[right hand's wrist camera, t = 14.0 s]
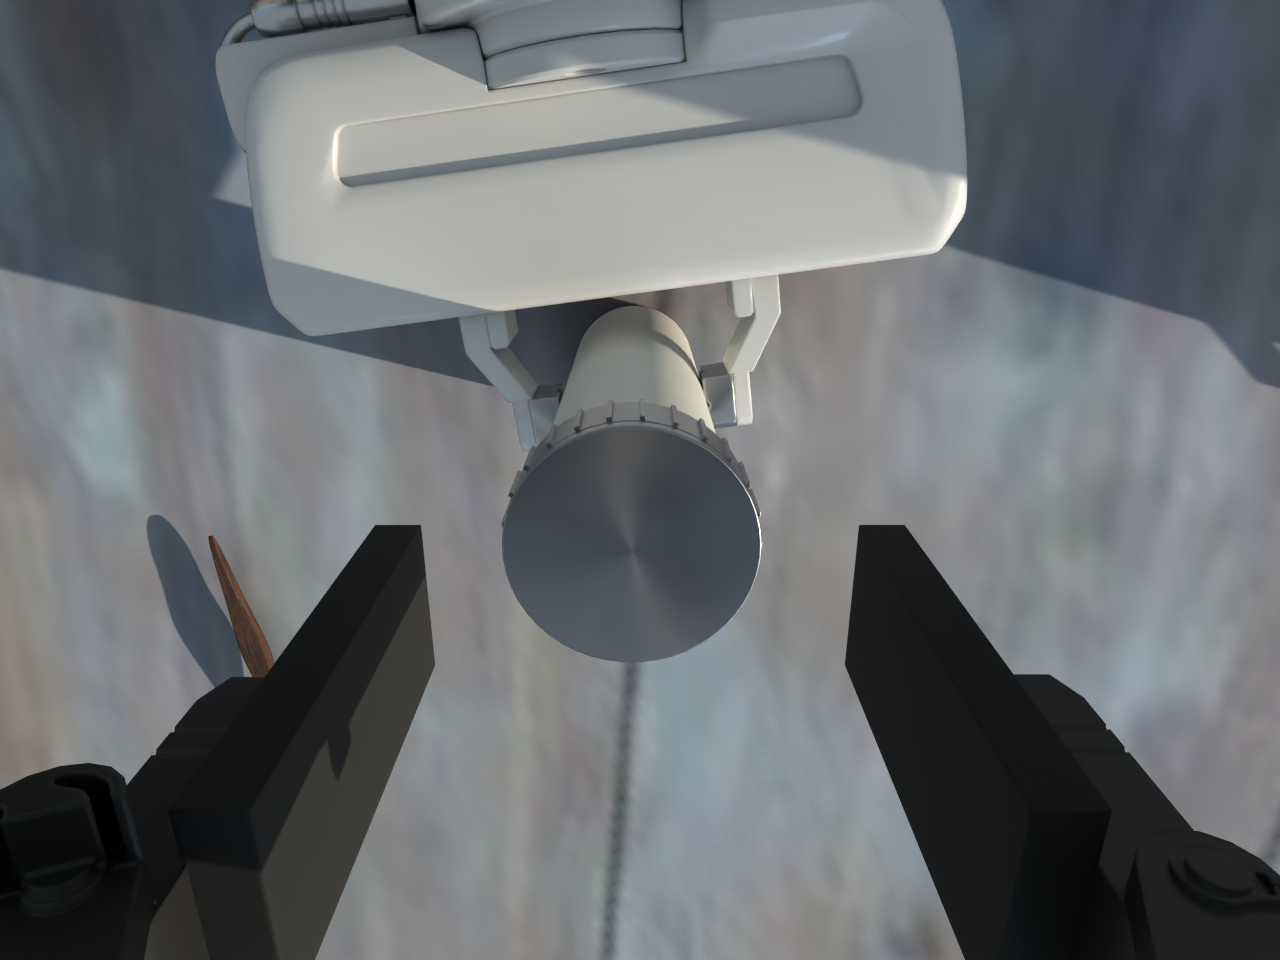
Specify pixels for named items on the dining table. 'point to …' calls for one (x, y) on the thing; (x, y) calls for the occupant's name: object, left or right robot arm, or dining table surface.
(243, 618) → the fork
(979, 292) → the dining table surface
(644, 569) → the lid
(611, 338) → the off-white tall cylinder
